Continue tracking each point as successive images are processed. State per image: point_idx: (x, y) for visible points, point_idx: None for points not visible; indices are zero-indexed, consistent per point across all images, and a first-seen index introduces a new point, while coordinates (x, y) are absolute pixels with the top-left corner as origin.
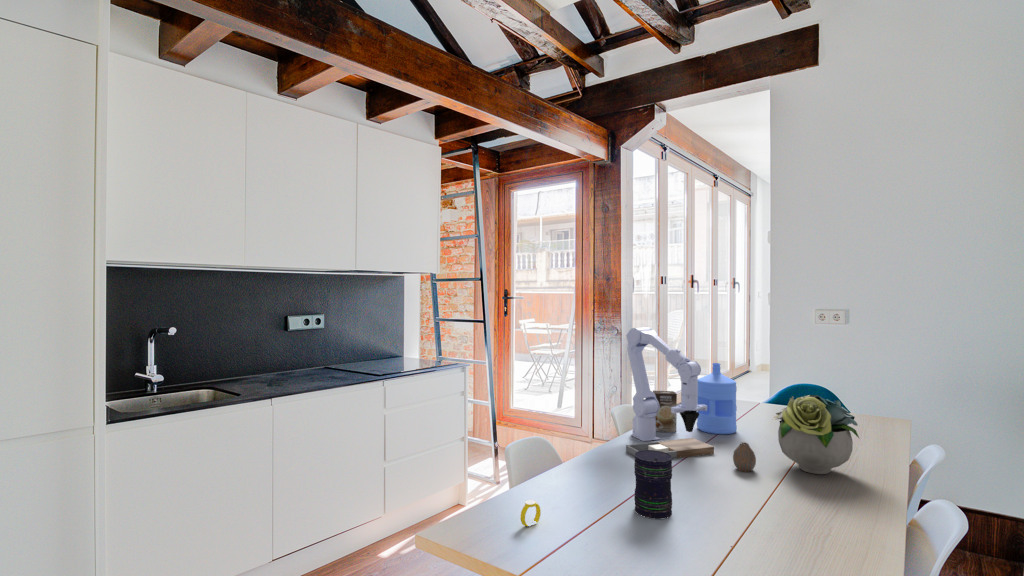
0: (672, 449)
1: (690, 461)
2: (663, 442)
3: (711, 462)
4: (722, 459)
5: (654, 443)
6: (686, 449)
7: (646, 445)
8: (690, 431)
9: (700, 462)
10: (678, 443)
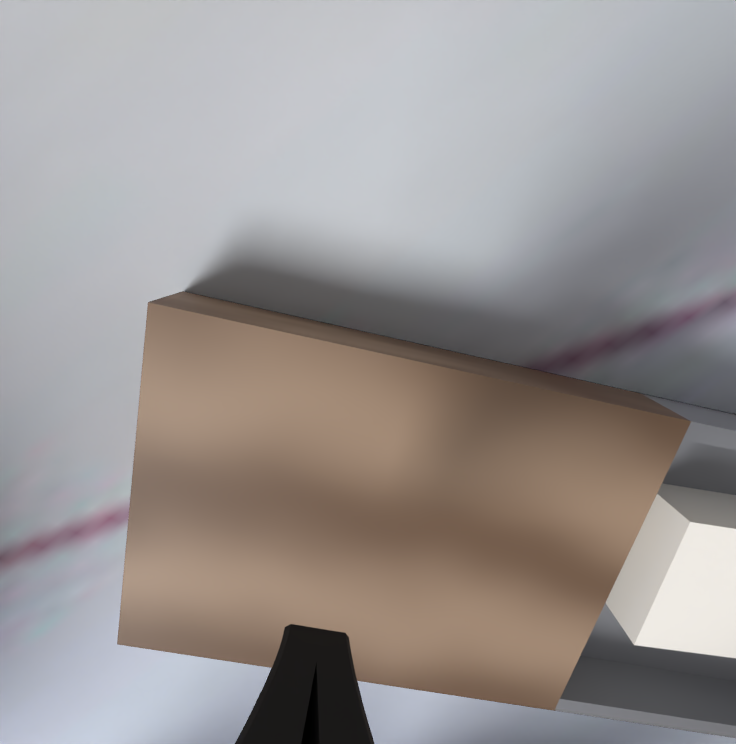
0: (657, 487)
1: (618, 254)
2: (521, 671)
3: (465, 93)
4: (259, 92)
5: (590, 694)
6: (543, 405)
7: (665, 697)
8: (327, 636)
9: (565, 169)
10: (420, 587)
